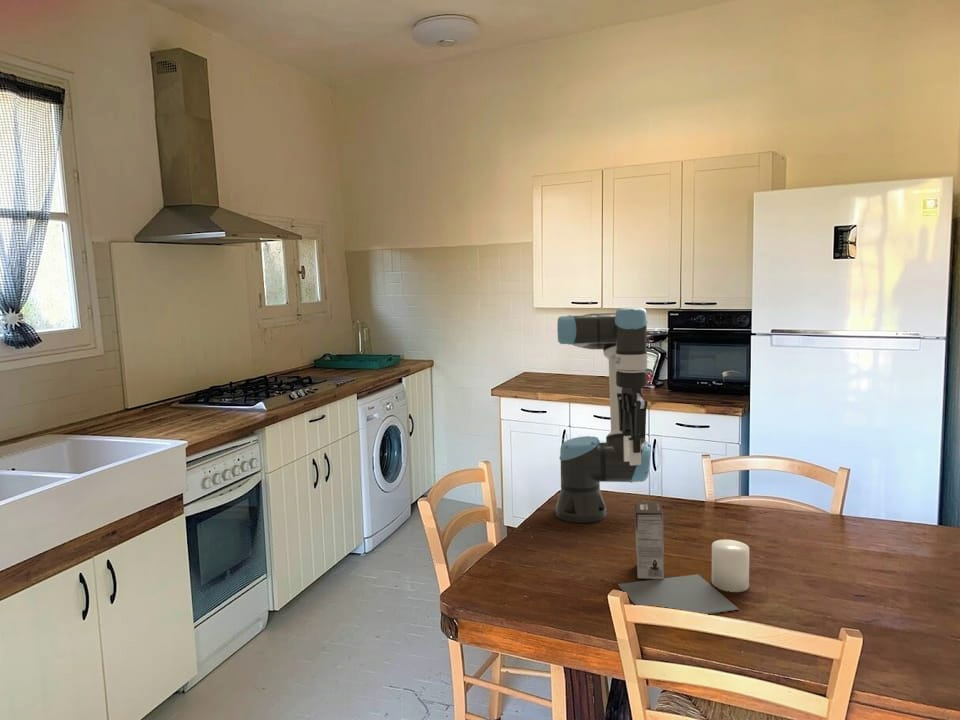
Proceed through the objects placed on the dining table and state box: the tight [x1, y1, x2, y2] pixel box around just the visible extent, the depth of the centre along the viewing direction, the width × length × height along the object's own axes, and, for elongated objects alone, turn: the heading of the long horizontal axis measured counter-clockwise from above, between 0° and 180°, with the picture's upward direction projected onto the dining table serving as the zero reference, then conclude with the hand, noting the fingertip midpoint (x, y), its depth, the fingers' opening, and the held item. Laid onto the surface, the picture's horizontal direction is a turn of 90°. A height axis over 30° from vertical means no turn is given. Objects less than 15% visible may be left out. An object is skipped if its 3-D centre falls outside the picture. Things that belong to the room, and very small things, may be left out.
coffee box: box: [634, 501, 665, 580], centre depth 156 cm, size 9×6×16 cm
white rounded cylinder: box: [711, 539, 750, 593], centre depth 149 cm, size 8×8×9 cm
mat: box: [617, 573, 739, 615], centre depth 144 cm, size 17×20×1 cm
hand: (632, 462), depth 164 cm, fingers open, 3 cm apart
